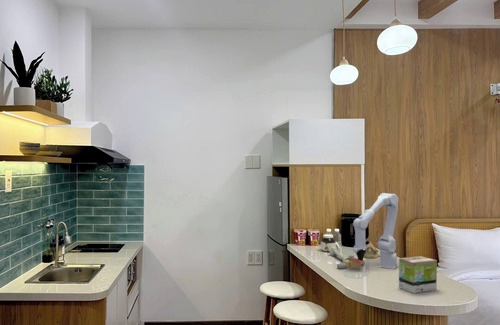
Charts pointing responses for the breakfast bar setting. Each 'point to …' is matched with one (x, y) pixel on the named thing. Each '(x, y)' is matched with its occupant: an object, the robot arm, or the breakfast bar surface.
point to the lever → (355, 260)
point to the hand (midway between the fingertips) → (360, 262)
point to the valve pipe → (349, 264)
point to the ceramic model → (371, 251)
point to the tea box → (417, 274)
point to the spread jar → (328, 243)
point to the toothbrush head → (337, 254)
